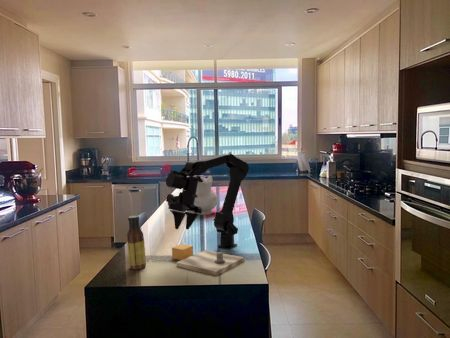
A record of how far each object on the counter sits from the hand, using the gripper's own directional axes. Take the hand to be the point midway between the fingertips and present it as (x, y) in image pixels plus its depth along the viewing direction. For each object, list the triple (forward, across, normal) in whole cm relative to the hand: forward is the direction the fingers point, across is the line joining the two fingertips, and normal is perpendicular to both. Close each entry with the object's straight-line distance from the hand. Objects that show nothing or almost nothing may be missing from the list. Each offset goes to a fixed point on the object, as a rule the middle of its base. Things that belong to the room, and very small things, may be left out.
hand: (181, 229), depth 148 cm
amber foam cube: (+12, -4, +1) cm, 12 cm away
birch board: (+10, -1, +15) cm, 18 cm away
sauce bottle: (+17, +11, -10) cm, 23 cm away
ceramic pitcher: (-4, -86, -31) cm, 91 cm away
